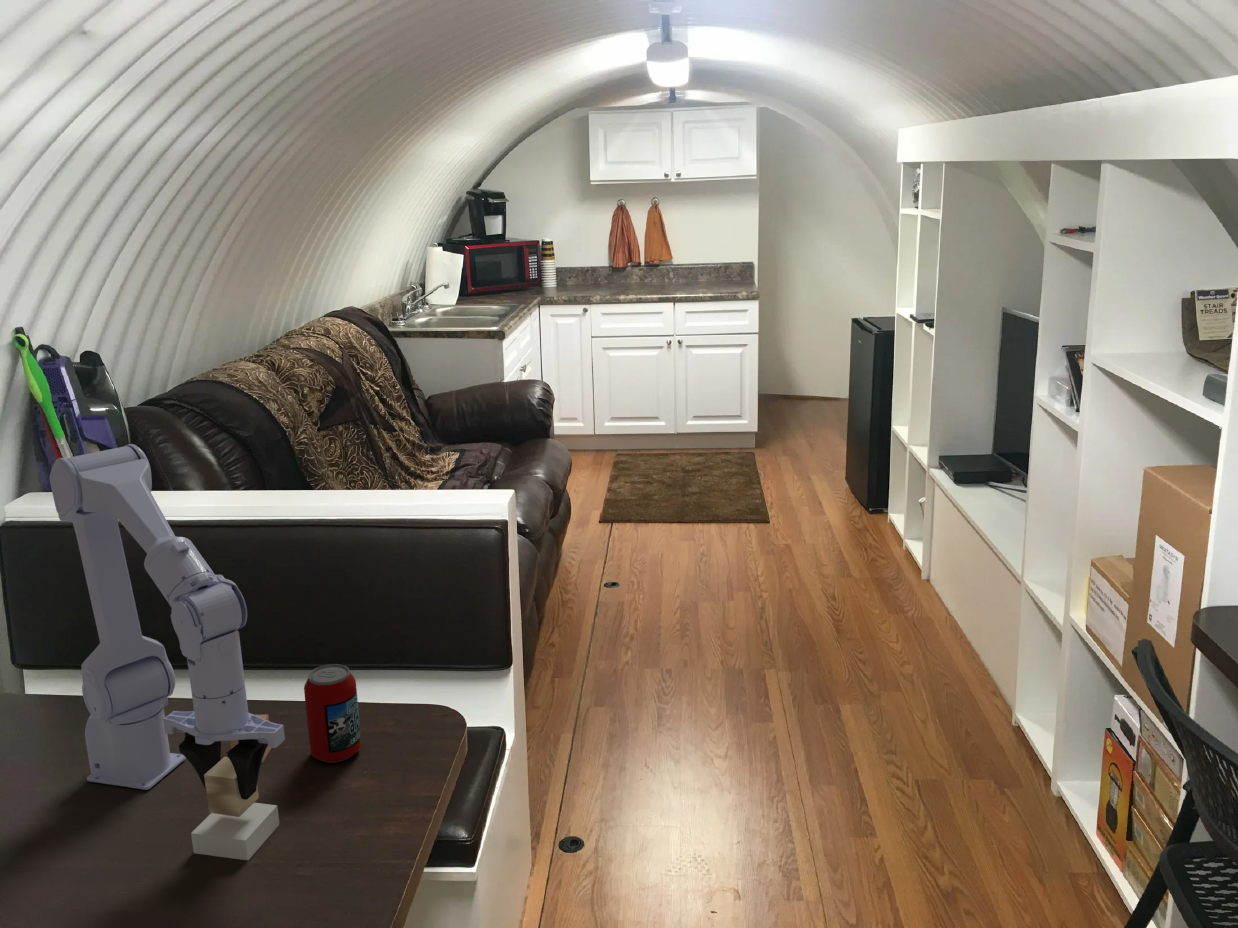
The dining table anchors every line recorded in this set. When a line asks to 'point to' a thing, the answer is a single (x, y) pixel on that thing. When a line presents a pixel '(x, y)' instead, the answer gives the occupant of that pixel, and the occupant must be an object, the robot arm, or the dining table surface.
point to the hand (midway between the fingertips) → (231, 791)
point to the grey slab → (236, 832)
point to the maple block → (226, 790)
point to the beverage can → (332, 713)
